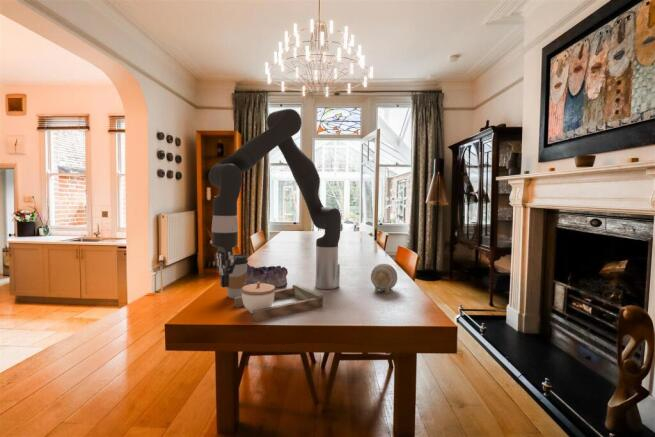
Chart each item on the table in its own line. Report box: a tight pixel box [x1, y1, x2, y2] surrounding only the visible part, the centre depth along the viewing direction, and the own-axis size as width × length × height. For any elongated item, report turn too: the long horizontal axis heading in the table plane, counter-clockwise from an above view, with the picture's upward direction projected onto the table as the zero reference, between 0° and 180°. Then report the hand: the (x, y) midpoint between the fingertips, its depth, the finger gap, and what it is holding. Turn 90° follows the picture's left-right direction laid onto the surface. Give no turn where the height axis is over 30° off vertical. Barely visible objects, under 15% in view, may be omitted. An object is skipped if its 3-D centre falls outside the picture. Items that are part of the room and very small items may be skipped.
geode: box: [246, 263, 289, 288], centre depth 139 cm, size 20×12×10 cm, turn 102°
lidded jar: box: [242, 282, 276, 314], centre depth 108 cm, size 11×11×9 cm
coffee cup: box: [226, 254, 249, 299], centre depth 123 cm, size 8×8×15 cm
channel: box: [233, 283, 324, 322], centre depth 113 cm, size 25×17×4 cm
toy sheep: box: [370, 263, 398, 295], centre depth 134 cm, size 11×17×11 cm, turn 165°
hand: (224, 286), depth 101 cm, fingers closed
